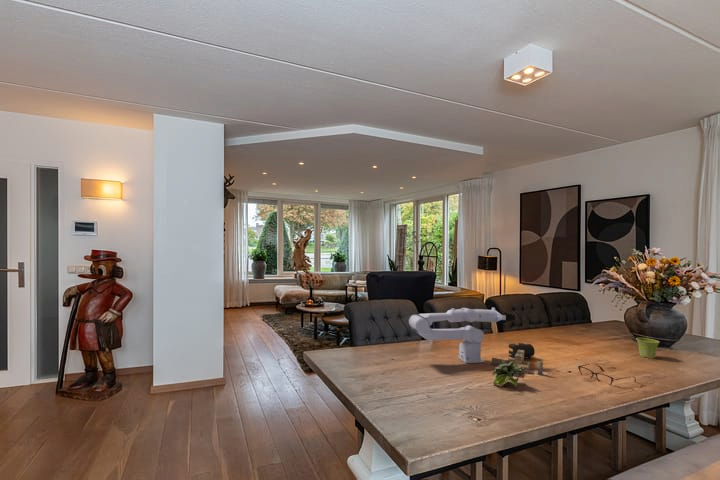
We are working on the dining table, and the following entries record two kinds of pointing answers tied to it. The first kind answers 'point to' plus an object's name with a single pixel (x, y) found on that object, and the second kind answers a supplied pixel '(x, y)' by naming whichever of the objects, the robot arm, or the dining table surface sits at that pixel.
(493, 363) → the stool base
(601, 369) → the eyeglasses
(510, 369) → the leafy green plant
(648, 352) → the plant pot
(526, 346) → the end cap
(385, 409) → the dining table surface
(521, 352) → the hinged leg
